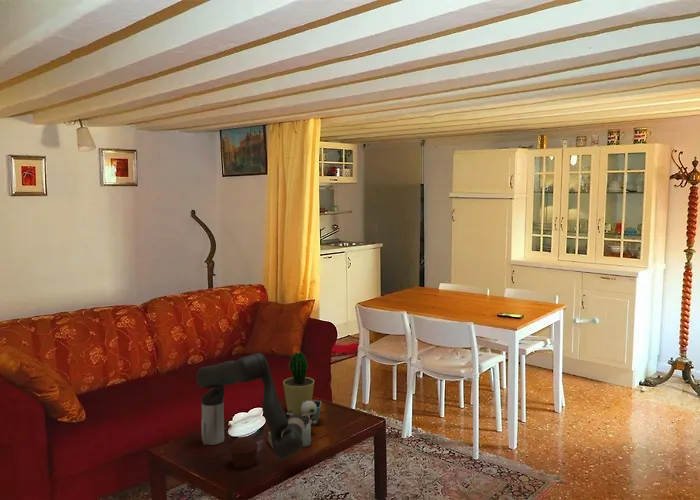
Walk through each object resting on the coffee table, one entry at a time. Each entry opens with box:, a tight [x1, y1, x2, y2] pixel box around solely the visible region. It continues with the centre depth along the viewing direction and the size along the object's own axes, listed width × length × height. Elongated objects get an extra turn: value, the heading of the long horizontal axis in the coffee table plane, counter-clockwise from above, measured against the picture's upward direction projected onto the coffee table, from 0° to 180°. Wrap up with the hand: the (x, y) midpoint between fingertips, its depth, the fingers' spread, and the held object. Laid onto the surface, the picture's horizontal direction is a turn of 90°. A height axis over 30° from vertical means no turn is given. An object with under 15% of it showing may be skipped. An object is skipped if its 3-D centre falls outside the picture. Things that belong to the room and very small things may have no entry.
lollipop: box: [301, 400, 317, 415], centre depth 261 cm, size 7×7×15 cm
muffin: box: [228, 436, 259, 469], centre depth 232 cm, size 12×11×10 cm
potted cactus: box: [282, 352, 315, 415], centre depth 289 cm, size 15×15×30 cm
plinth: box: [267, 430, 284, 449], centre depth 251 cm, size 10×10×4 cm
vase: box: [301, 416, 312, 447], centre depth 250 cm, size 5×5×12 cm
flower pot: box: [302, 400, 322, 425], centre depth 274 cm, size 9×9×9 cm
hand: (301, 412), depth 238 cm, fingers open, 8 cm apart
